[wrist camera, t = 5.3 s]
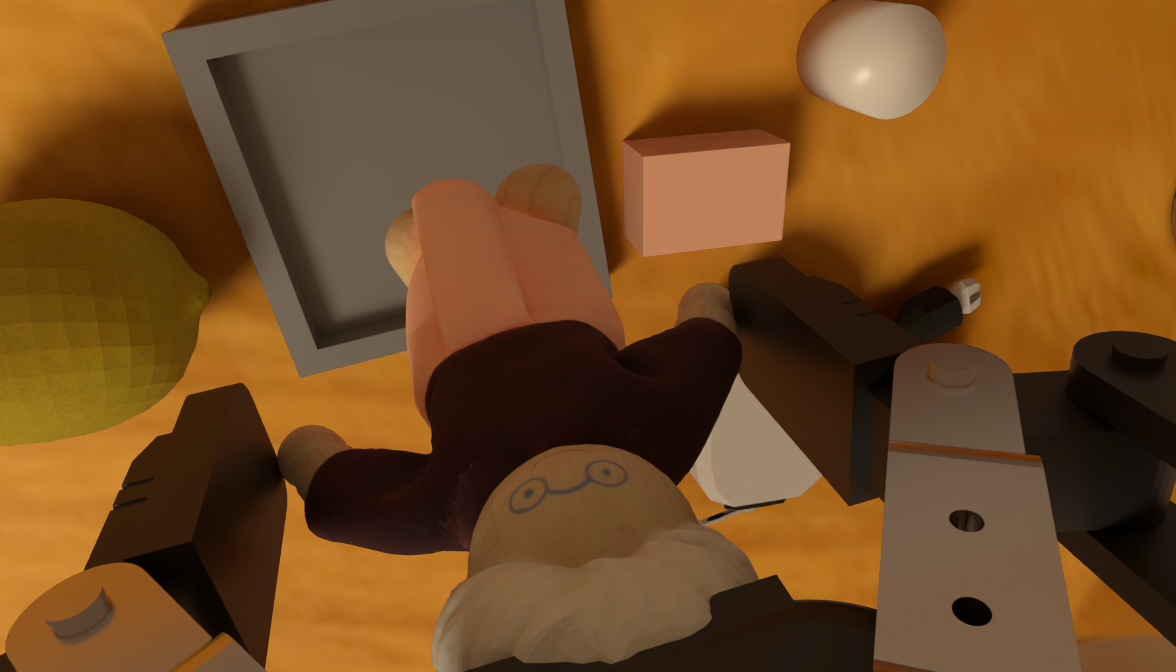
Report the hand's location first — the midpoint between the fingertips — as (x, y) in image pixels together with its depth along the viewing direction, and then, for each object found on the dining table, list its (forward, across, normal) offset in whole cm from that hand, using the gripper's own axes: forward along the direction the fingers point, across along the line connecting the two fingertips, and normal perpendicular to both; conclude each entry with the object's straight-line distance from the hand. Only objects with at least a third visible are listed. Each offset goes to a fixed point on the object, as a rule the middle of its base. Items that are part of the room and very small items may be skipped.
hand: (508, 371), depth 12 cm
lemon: (+20, +14, +3) cm, 24 cm away
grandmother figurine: (+6, 0, 0) cm, 6 cm away
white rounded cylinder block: (+19, -17, 0) cm, 26 cm away
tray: (+20, +1, +2) cm, 20 cm away
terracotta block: (+20, -10, +4) cm, 23 cm away
